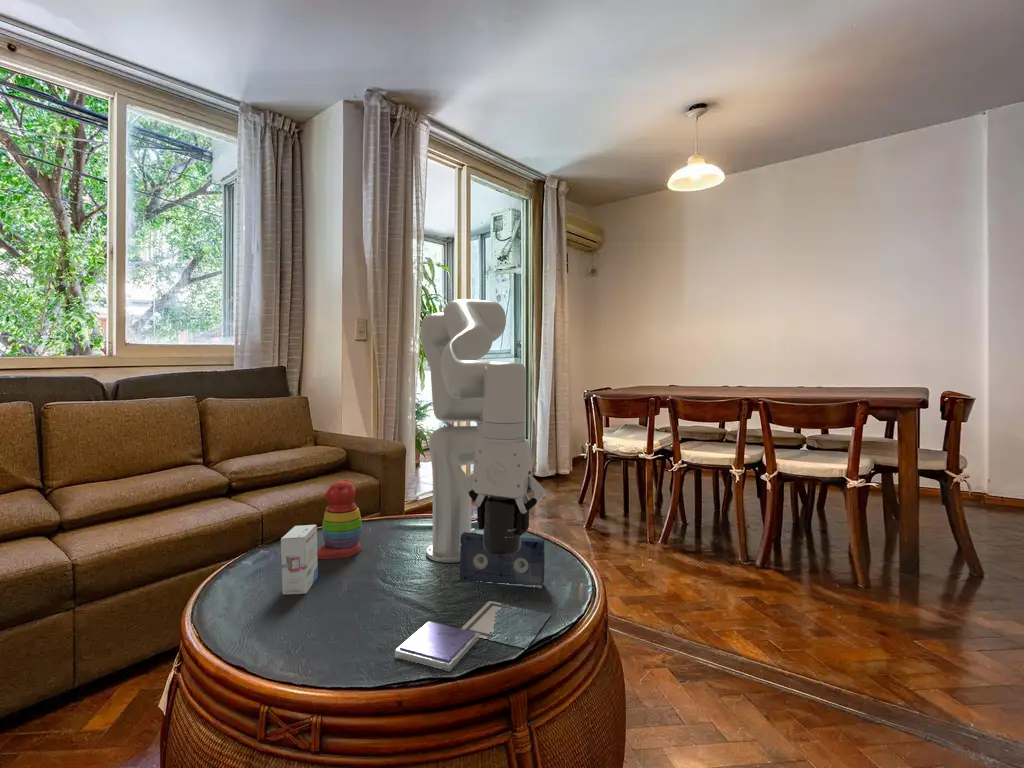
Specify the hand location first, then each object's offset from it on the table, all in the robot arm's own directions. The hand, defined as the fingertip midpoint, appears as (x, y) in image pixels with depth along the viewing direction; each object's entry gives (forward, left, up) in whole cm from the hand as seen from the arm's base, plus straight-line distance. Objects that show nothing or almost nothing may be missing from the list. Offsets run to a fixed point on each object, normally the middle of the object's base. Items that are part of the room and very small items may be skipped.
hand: (502, 529), depth 91 cm
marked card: (-1, +1, -17) cm, 17 cm away
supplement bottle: (0, 0, -4) cm, 4 cm away
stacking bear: (-17, -51, -18) cm, 57 cm away
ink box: (+2, -45, -18) cm, 49 cm away
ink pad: (+11, -6, -17) cm, 22 cm away
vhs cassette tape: (-17, -7, -18) cm, 25 cm away
